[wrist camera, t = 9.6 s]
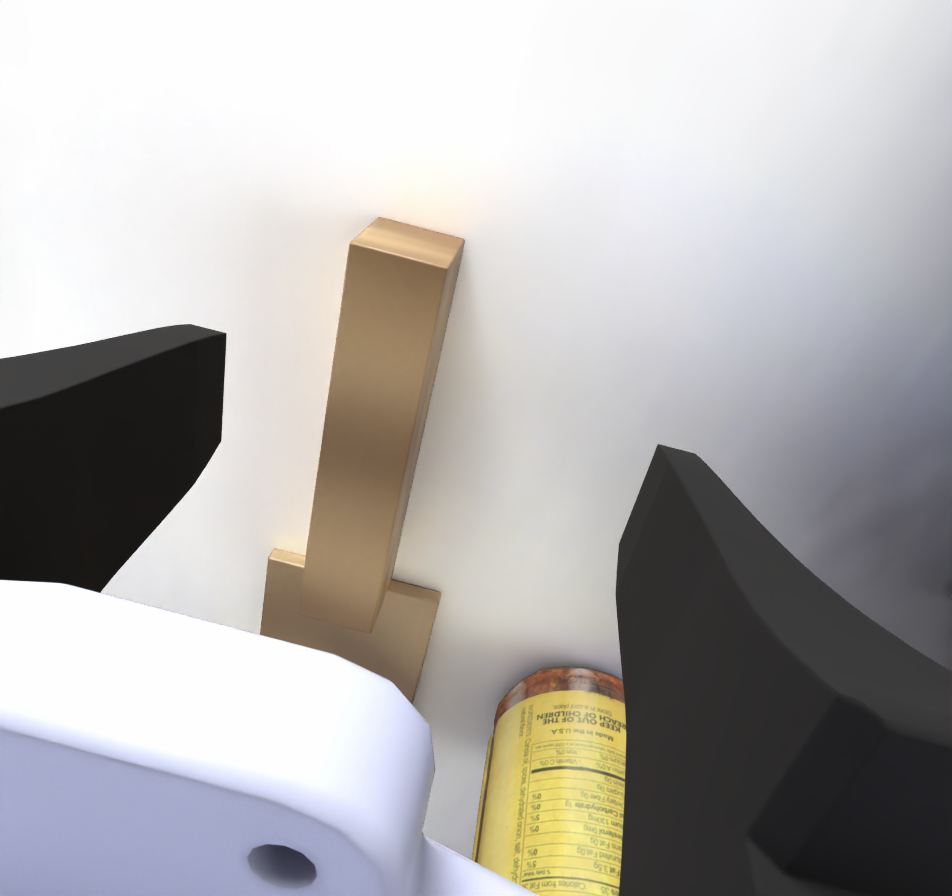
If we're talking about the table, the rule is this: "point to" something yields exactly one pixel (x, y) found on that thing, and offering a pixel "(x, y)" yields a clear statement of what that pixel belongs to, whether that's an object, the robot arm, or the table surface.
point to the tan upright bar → (371, 461)
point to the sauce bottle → (556, 785)
